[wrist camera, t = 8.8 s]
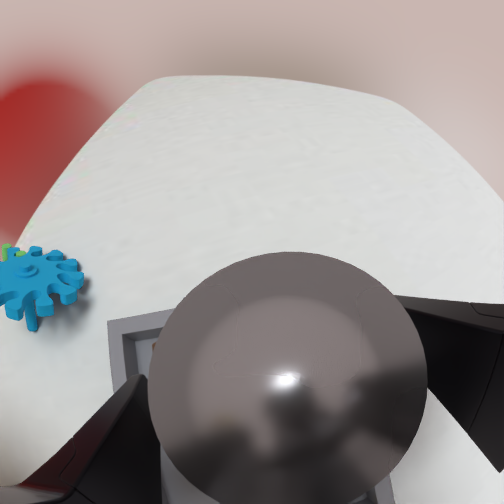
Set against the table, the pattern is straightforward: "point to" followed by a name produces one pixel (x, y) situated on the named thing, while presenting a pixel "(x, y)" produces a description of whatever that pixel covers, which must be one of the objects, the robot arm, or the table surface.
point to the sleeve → (287, 382)
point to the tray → (137, 362)
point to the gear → (36, 282)
